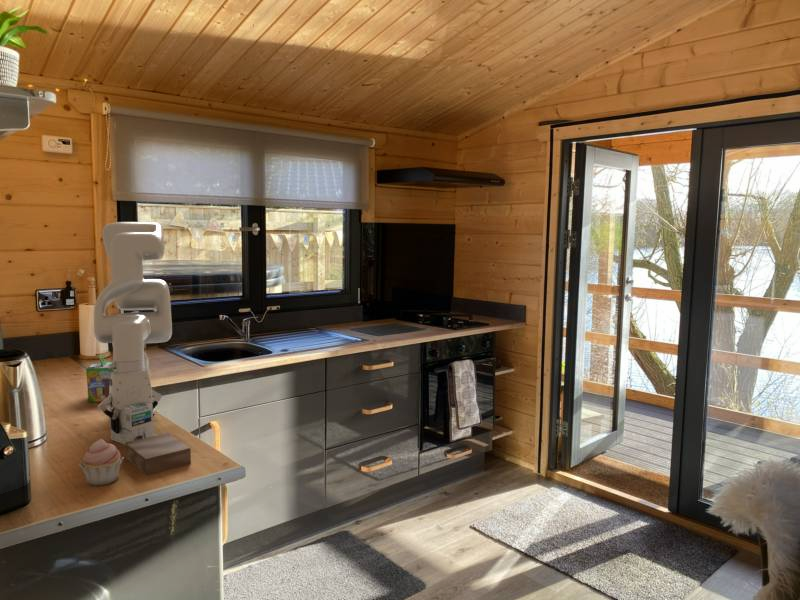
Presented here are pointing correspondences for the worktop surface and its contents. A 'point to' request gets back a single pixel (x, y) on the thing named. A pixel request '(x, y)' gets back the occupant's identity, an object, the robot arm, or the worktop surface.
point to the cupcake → (101, 463)
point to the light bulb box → (134, 423)
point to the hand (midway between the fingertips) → (132, 428)
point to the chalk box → (98, 380)
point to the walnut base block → (157, 453)
